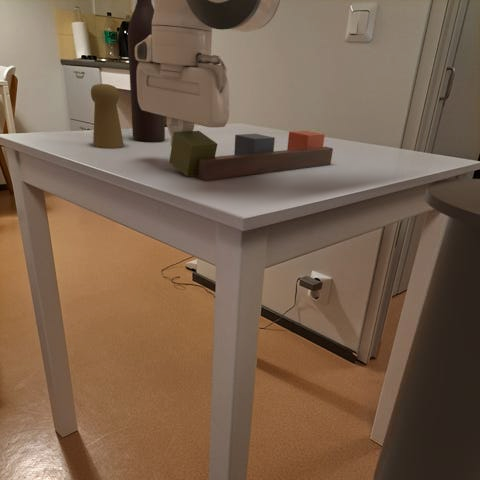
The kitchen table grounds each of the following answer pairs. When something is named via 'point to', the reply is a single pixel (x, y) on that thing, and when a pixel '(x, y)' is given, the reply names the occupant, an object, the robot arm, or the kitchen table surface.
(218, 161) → the straightedge
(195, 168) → the olive block
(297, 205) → the kitchen table surface
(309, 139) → the terracotta block
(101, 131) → the cork
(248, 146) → the slate-blue block
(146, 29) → the wine bottle
